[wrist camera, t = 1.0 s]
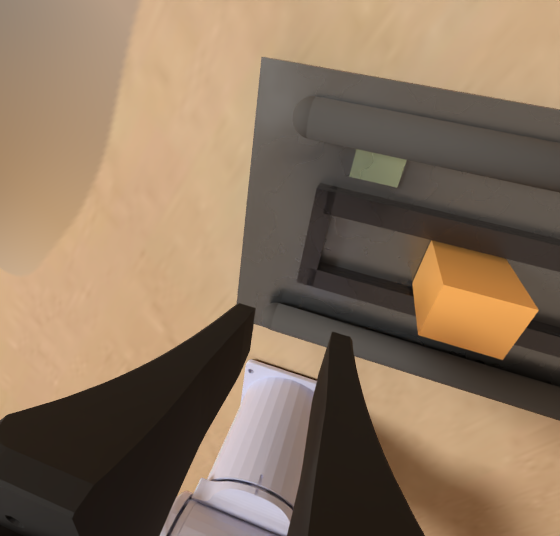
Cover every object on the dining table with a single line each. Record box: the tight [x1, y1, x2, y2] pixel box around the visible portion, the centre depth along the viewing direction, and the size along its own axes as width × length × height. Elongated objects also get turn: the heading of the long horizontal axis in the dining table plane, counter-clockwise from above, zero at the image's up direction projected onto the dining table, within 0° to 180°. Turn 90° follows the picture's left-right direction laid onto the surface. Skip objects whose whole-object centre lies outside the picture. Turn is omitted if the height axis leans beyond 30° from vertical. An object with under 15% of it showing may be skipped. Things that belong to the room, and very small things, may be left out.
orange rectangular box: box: [412, 240, 539, 360], centre depth 16 cm, size 3×4×4 cm
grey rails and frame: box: [261, 96, 560, 420], centre depth 17 cm, size 14×20×2 cm
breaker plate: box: [237, 57, 560, 387], centre depth 18 cm, size 16×24×2 cm, turn 82°
